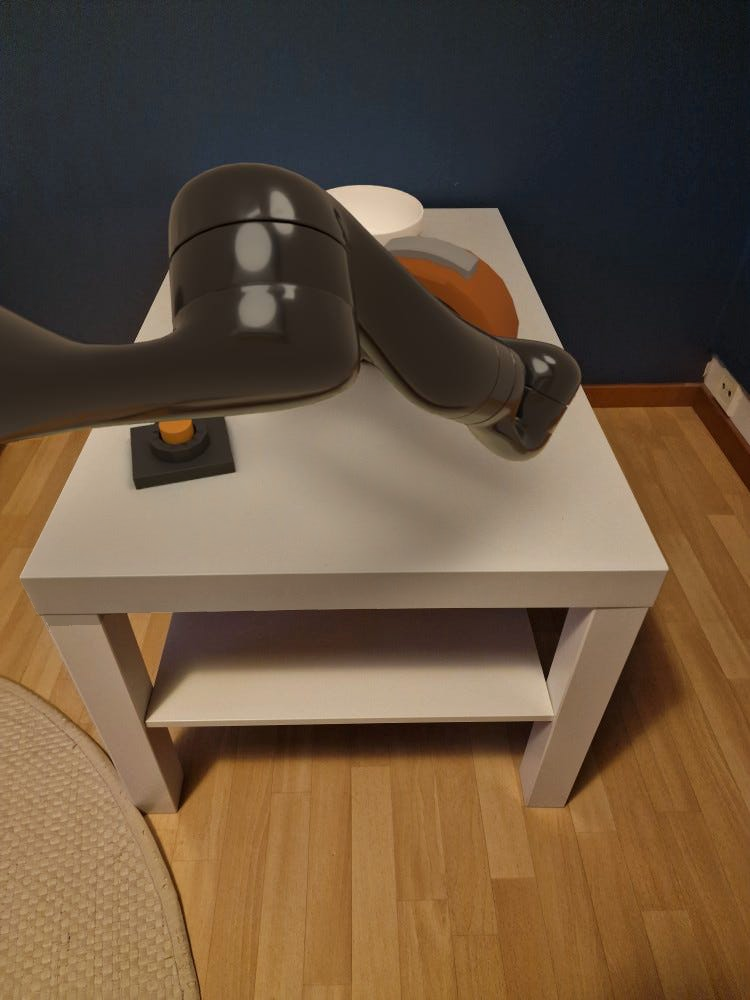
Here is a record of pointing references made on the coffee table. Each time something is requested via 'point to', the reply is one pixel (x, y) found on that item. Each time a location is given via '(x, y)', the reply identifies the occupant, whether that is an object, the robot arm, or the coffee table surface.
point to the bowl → (382, 210)
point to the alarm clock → (459, 282)
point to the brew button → (176, 431)
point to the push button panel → (180, 454)
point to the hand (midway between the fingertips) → (281, 270)
